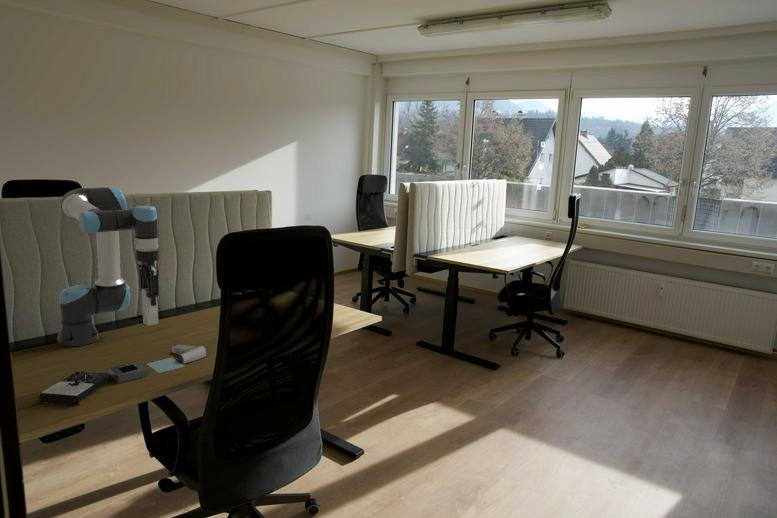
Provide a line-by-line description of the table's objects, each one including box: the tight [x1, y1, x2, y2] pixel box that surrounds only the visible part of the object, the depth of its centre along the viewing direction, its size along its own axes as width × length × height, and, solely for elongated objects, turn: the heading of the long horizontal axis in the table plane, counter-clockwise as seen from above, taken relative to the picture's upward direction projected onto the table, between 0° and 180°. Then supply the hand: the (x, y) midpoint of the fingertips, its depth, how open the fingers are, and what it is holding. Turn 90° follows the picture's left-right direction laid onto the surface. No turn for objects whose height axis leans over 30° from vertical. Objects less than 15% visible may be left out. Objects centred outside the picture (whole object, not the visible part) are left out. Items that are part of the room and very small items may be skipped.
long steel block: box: [141, 288, 159, 326], centre depth 204 cm, size 4×4×13 cm
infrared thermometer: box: [171, 344, 207, 365], centre depth 223 cm, size 5×12×15 cm
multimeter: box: [39, 371, 113, 407], centre depth 189 cm, size 13×19×5 cm
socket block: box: [108, 361, 149, 384], centre depth 202 cm, size 10×10×4 cm
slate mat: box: [146, 357, 186, 374], centre depth 213 cm, size 12×10×1 cm
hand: (150, 312), depth 205 cm, fingers closed on long steel block, 4 cm apart
